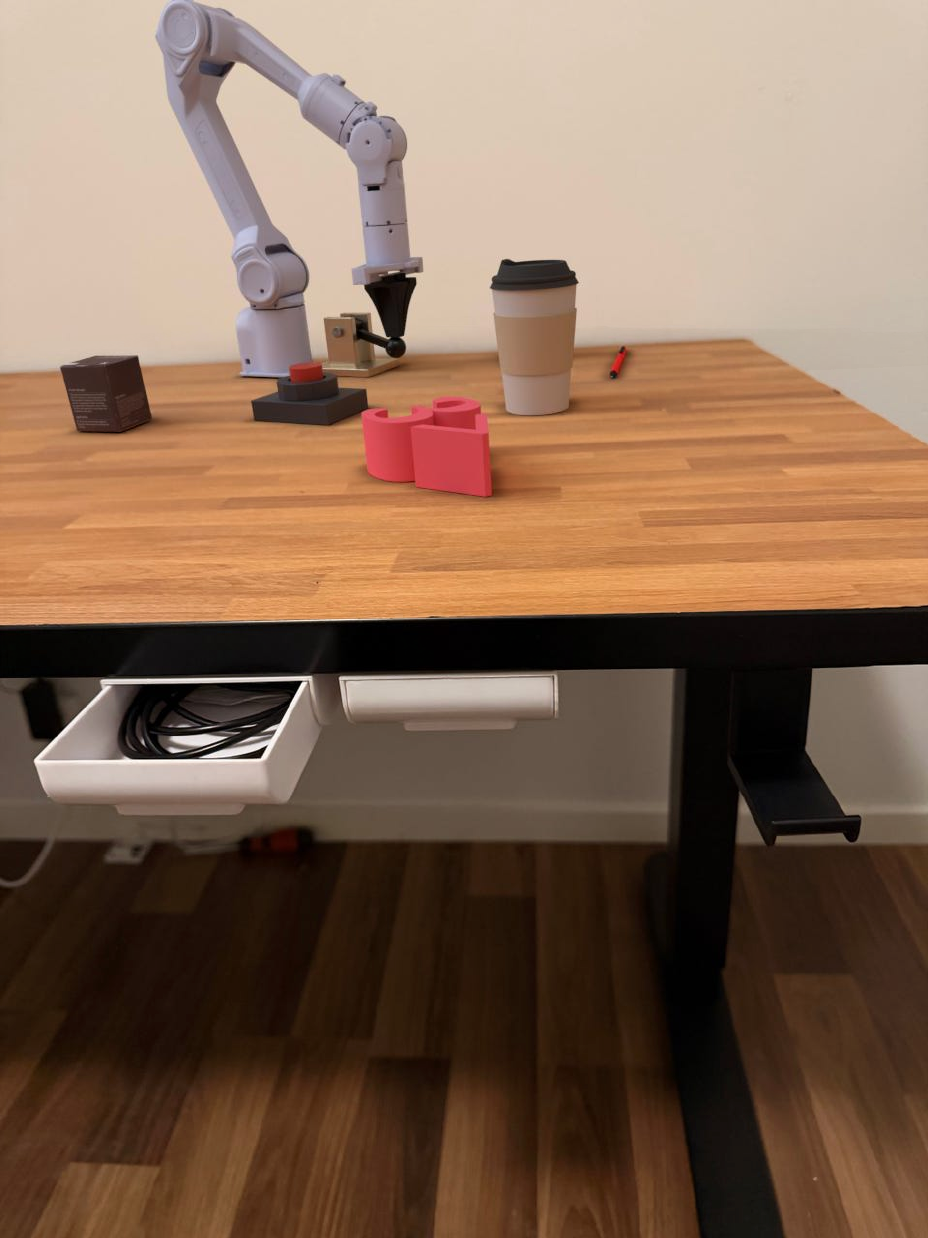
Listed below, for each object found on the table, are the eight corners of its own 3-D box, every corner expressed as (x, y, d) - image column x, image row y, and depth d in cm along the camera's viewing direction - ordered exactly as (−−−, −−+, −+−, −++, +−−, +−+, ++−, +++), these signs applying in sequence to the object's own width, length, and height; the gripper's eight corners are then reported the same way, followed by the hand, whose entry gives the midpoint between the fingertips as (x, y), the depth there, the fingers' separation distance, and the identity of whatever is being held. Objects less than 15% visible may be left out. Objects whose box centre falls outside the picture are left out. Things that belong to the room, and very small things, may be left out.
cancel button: (284, 384, 98) (282, 368, 98) (303, 377, 101) (301, 361, 101) (311, 385, 97) (309, 368, 96) (330, 378, 100) (328, 362, 99)
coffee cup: (590, 399, 99) (590, 252, 92) (563, 419, 91) (561, 261, 85) (514, 397, 102) (508, 255, 96) (482, 415, 95) (474, 264, 88)
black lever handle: (407, 358, 121) (411, 338, 120) (397, 362, 119) (401, 342, 117) (344, 334, 124) (347, 313, 122) (333, 337, 122) (335, 316, 120)
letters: (541, 484, 72) (540, 422, 70) (428, 509, 68) (422, 445, 66) (461, 448, 84) (457, 394, 82) (359, 468, 80) (353, 411, 78)
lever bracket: (399, 365, 125) (394, 310, 122) (368, 377, 119) (362, 319, 116) (339, 363, 129) (333, 310, 126) (306, 374, 123) (299, 319, 120)
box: (154, 420, 103) (140, 354, 100) (119, 433, 98) (104, 364, 95) (110, 419, 105) (95, 354, 102) (75, 432, 100) (58, 364, 97)
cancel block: (254, 420, 100) (248, 383, 98) (296, 404, 106) (291, 369, 104) (328, 425, 95) (323, 387, 94) (368, 408, 102) (364, 372, 100)
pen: (627, 352, 125) (627, 344, 124) (615, 380, 108) (616, 371, 107) (620, 352, 125) (620, 344, 124) (608, 380, 108) (608, 371, 108)
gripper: (382, 227, 106) (393, 346, 111) (439, 219, 117) (447, 328, 123) (332, 229, 109) (345, 345, 114) (393, 222, 120) (402, 327, 126)
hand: (395, 336), depth 119 cm, fingers closed
